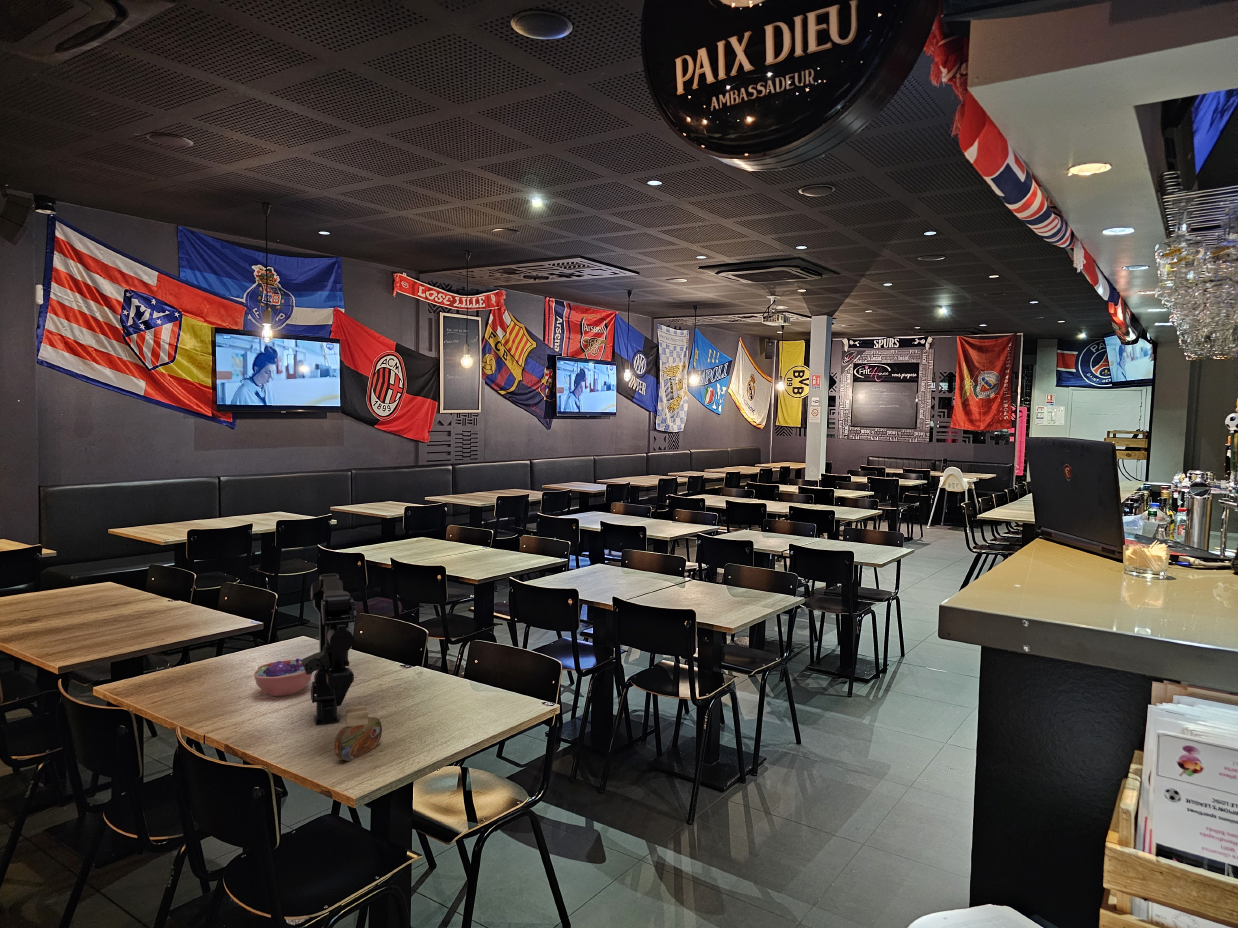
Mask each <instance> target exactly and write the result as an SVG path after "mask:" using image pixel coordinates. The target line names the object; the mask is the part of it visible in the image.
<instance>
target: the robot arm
mask: <svg viewBox="0 0 1238 928" xmlns="http://www.w3.org/2000/svg"><path fill="white" fill-rule="evenodd" d="M339 575H340V574H337V573H325V574H324V573H323V574H322V575H321V574H320V575H319V578H318V579H316V580H315V581H313V582H312V583H311V587H310V600H311V601H312V604H313V608H314V609H315V610H316V612H317V613H318V620H319V621H318V625H319V627H318V630H319V631H318V633H319V635H318V637H319V641H318V642H319V651H318V652H314V653H313V654H310V655H308V656H307V657H304V658H301V659H302V660H301V662H302V665H303V667H304V670H305V672H306V674H307V675H309V674H312V675H314V676H313V681H311V688H310V700H311V703H312V704H315V703H316V704H315V705H316V707H315V708H316V709H315V710H316V712H315V715H314V716H313V720H314V723H315V725H324V724H330V723H331V724H332V723H337V722H340V721H341V719H340V716H339V713H338V707H340V706H342V705H343V702H344V700H345V697H346V696H347V694H348V691H349V689H350V688H351V685H352V684H353V683H354V682H355V673H354V671H353V670H352V669H350V668H349V666H350V660H349V651H350V649H351V648H352V646H353V644H354V640H355V638H354V634H353V633H352V631H351V629H350V627H349V623H355V620H356V619H357V609H356V601H355V600H354V598H353V597H351V594H350V593H349V592H348V591H345V590H344V588H343V586H344V585H343V580H341V579H340V576H339ZM313 673H314V674H313Z"/></svg>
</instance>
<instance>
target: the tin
mask: <svg viewBox="0 0 1238 928" xmlns="http://www.w3.org/2000/svg"><path fill="white" fill-rule="evenodd" d="M382 733H383V726H382V723H381V720H380V719H379V718H378V717H376V716H373V717H372V716H371V717H370V716H368V724H364V725H358V726H351V727H347V725H346V726H344V727H342V728H340V730H339V732H338V733H337V735H336V737H335V738H334V754H335V756H336V758H337V759H339V760H342V761H346V762H351V761H354V760H356V759H357V758H359V757H362V755H364V754H367V753H368V752H370V751H372V750H374V749H376V747H377V746H378V744H379V743H380V741H381V737H382Z"/></svg>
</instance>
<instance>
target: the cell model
mask: <svg viewBox="0 0 1238 928" xmlns="http://www.w3.org/2000/svg"><path fill="white" fill-rule="evenodd" d="M302 659H303V658H298V657H297V658H295V659H288V660H277V661H274V662H268V663H265V664H262V665H259V666H258V667H257V670H256V671H255V672H254V673H253V677H254V680H255V685H256V687H258V688H259V689H260V690H261V691H262V692H263V693H265V694H266V695H270V696H272V697H277V698H278V697H279V698H280V697H286V696H290V695H293V694H296V693H298V692H299V691H301V690H302V689H303V688H305V687H306V686H308V684H309V683H310V681H311V679H312V675H313V673H312V674H309V675H307V674H306V672H305V670H304V667H303V665H302V662H301V660H302Z"/></svg>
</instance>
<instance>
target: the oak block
mask: <svg viewBox="0 0 1238 928" xmlns="http://www.w3.org/2000/svg"><path fill="white" fill-rule="evenodd" d="M368 717H369V711H368V709H367V707H366V705H359V706H352V707H345V708H344V722H345V724H346V726H347V727H351V726H358V725H364V724H368Z"/></svg>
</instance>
